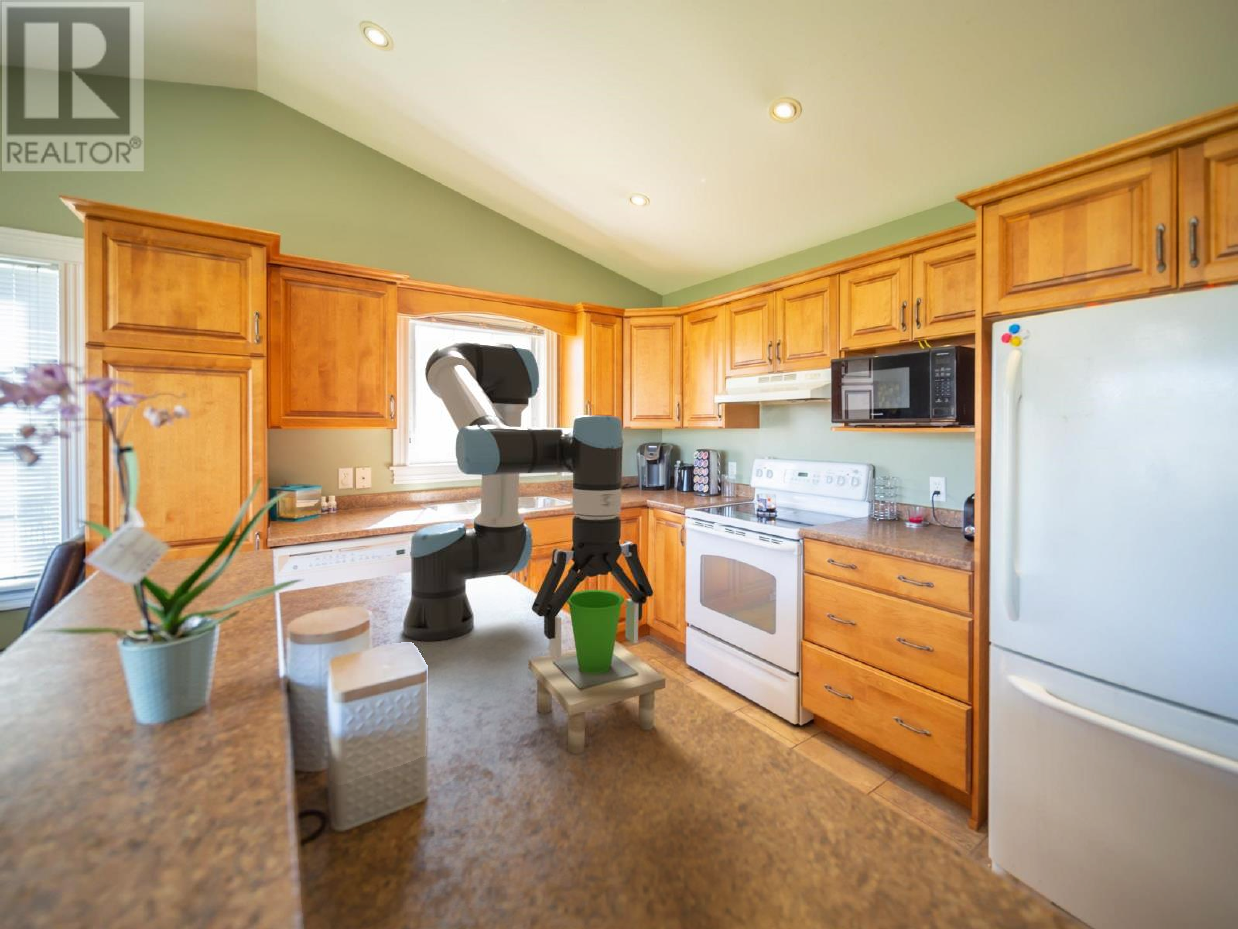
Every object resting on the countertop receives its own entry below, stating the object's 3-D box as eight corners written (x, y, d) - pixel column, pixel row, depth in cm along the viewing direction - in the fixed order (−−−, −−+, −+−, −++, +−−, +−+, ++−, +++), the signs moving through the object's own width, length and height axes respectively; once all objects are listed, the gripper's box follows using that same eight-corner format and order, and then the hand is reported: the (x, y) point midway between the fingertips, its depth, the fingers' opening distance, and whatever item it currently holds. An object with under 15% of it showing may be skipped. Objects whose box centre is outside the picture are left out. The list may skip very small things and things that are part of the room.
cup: (616, 683, 76) (617, 610, 75) (558, 676, 78) (558, 605, 77) (628, 657, 85) (628, 591, 84) (575, 651, 87) (575, 587, 86)
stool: (528, 706, 85) (528, 657, 84) (612, 683, 93) (613, 638, 92) (569, 761, 71) (570, 703, 70) (664, 728, 79) (665, 676, 79)
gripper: (528, 526, 70) (528, 676, 72) (676, 513, 83) (672, 641, 84) (511, 517, 77) (510, 655, 78) (650, 507, 89) (647, 626, 91)
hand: (594, 648), depth 81 cm, fingers open, 13 cm apart
